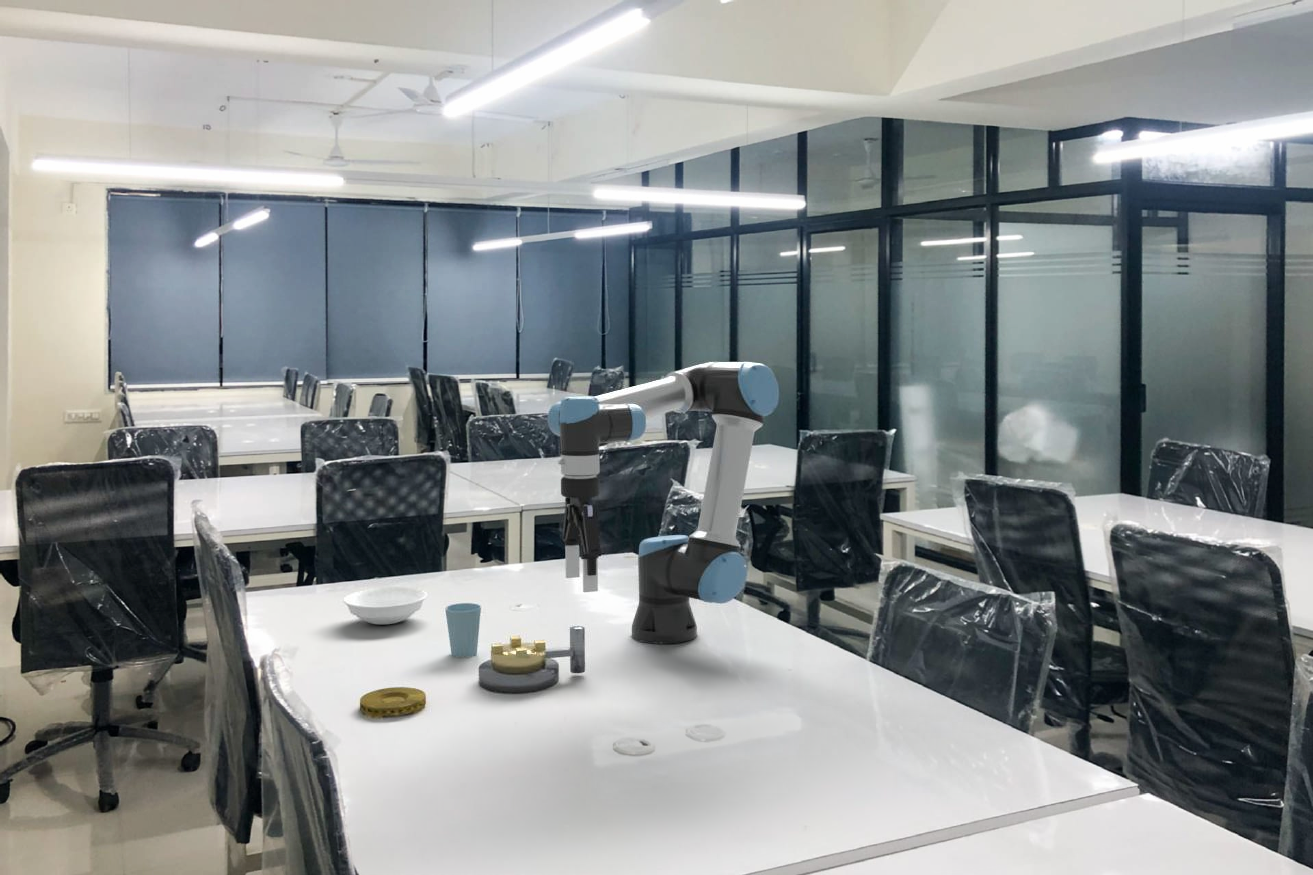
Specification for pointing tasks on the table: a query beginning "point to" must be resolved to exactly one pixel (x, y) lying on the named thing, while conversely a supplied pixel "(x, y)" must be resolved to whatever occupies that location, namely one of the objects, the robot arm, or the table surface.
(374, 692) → the gold gear disc
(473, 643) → the cup
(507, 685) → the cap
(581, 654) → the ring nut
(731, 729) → the table surface
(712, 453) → the robot arm
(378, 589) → the bowl
